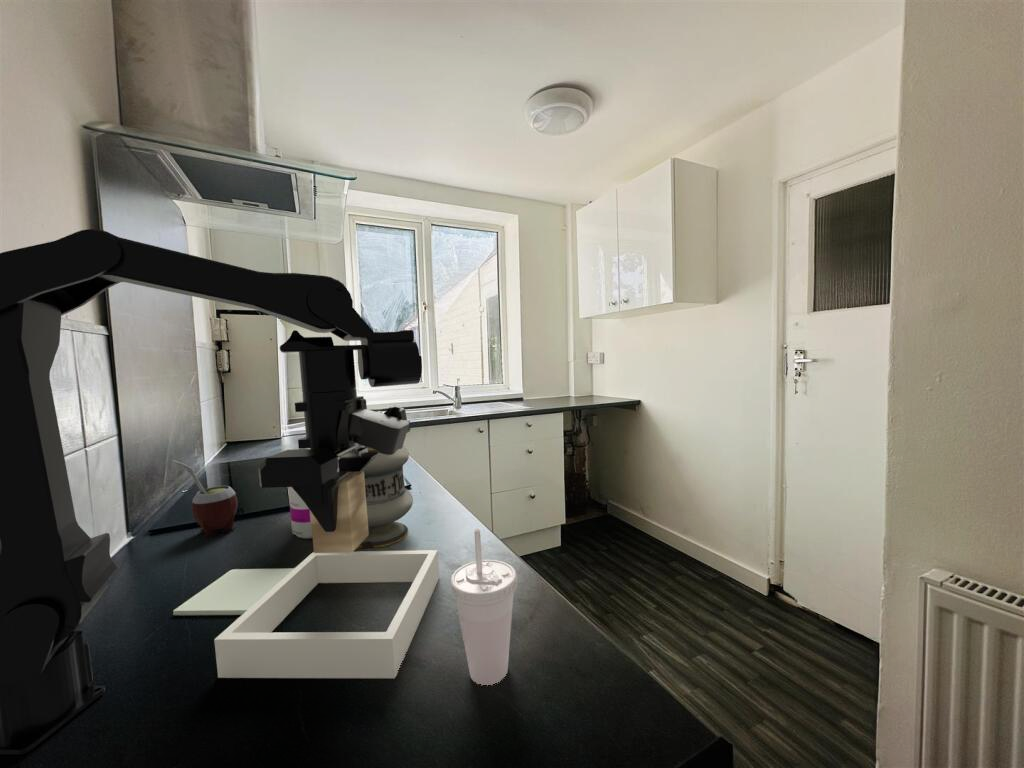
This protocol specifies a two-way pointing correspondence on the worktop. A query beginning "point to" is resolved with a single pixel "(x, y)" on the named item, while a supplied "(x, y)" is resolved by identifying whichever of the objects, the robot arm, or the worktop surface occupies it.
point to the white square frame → (329, 654)
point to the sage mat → (233, 592)
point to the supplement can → (299, 515)
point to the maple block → (345, 518)
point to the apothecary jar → (386, 498)
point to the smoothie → (485, 614)
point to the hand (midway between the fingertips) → (340, 522)
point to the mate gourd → (213, 506)
